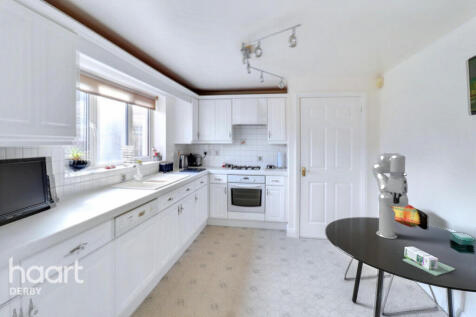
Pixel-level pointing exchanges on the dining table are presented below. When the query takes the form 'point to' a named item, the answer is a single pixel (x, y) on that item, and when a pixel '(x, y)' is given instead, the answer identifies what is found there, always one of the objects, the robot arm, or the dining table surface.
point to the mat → (441, 269)
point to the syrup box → (421, 258)
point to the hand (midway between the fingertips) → (396, 203)
